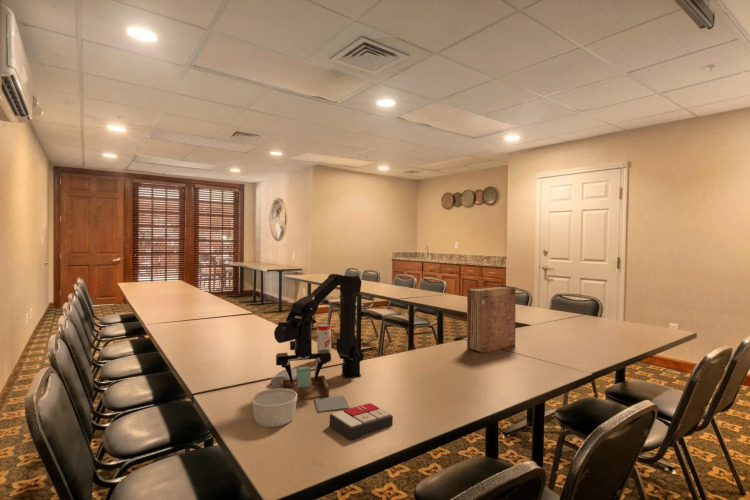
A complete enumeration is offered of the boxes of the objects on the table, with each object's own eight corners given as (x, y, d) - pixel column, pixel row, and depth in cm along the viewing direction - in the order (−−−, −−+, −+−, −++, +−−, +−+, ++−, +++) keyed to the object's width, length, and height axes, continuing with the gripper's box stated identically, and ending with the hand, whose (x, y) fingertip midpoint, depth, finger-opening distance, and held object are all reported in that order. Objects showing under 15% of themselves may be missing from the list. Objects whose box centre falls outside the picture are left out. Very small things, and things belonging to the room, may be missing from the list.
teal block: (309, 381, 140) (309, 366, 140) (310, 386, 135) (310, 370, 135) (296, 383, 139) (296, 367, 138) (297, 387, 134) (297, 371, 134)
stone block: (269, 391, 144) (294, 388, 142) (267, 378, 144) (292, 374, 142) (283, 381, 155) (306, 378, 154) (281, 369, 156) (304, 365, 154)
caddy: (324, 384, 145) (324, 375, 145) (328, 397, 133) (328, 387, 133) (279, 389, 141) (279, 379, 141) (280, 402, 129) (280, 391, 129)
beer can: (333, 359, 177) (333, 324, 177) (327, 363, 171) (327, 326, 171) (320, 357, 179) (320, 323, 179) (314, 361, 173) (314, 325, 173)
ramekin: (287, 431, 109) (286, 407, 109) (243, 427, 112) (243, 403, 112) (303, 411, 122) (303, 389, 122) (264, 408, 125) (264, 386, 125)
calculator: (393, 413, 113) (350, 425, 104) (393, 428, 113) (350, 442, 104) (370, 401, 122) (329, 411, 113) (370, 415, 122) (328, 426, 112)
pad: (343, 396, 134) (343, 395, 134) (349, 408, 124) (349, 407, 124) (314, 399, 131) (314, 398, 131) (318, 412, 121) (318, 411, 121)
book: (481, 353, 185) (481, 290, 184) (466, 349, 192) (466, 288, 192) (515, 345, 199) (515, 287, 198) (500, 342, 206) (500, 285, 206)
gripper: (326, 330, 147) (326, 371, 147) (275, 333, 142) (275, 376, 142) (331, 337, 136) (331, 382, 136) (276, 341, 131) (276, 387, 132)
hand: (303, 381), depth 137 cm, fingers open, 8 cm apart
